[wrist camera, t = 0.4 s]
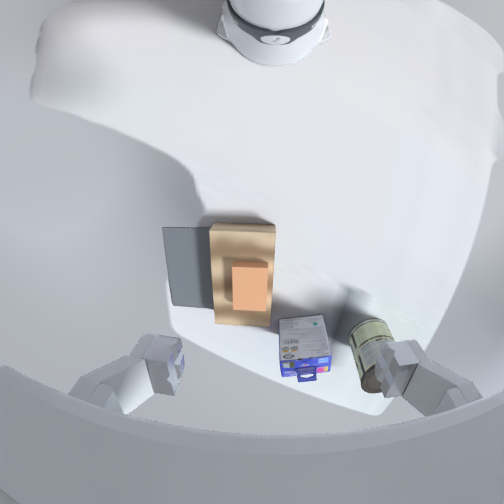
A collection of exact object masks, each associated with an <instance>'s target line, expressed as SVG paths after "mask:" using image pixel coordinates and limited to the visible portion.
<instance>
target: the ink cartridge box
mask: <svg viewBox="0 0 504 504" xmlns="http://www.w3.org/2000/svg"><path fill="white" fill-rule="evenodd" d="M279 358H280V369H281V375H282V377H289V376H297V378H298V382H306V381H316V380H317V378H316V373H322V372H329V371H330V367H331V358H332V354H331V349H330V344H329V340H328V336H327V331H326V327H325V322H324V318H323V315H316V316H307V317H298V318H289V319H280V320H279ZM307 374H314V375H313V376H311V377H309V378H304V377H300V375H307Z"/></svg>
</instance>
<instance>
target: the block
mask: <svg viewBox="0 0 504 504" xmlns="http://www.w3.org/2000/svg"><path fill="white" fill-rule="evenodd" d="M267 281H268V263H264V262H240V261H233V265H232V285H233V310H249V311H266V300H267Z"/></svg>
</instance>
